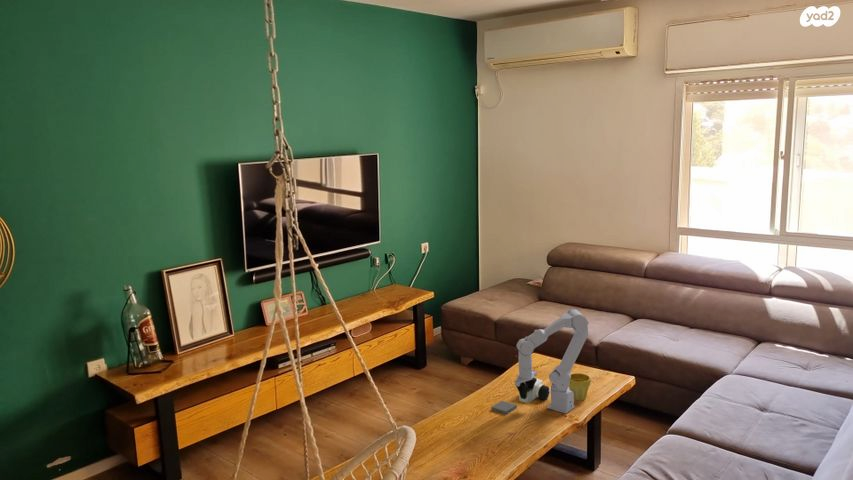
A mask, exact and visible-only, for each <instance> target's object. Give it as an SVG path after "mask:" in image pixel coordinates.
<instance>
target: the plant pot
mask: <svg viewBox="0 0 853 480" xmlns="http://www.w3.org/2000/svg"><path fill="white" fill-rule="evenodd" d="M591 380H592V379H591V376H590V375H589V374H586V373H581V372H575V373H574V372H573V373H571V378H570V381H569V387H568V389H569V390H570V391H572V392H573V393H574V401H580V402H581V401H584V400H586V399H587V395H588V391H589V387H591Z"/></svg>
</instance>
